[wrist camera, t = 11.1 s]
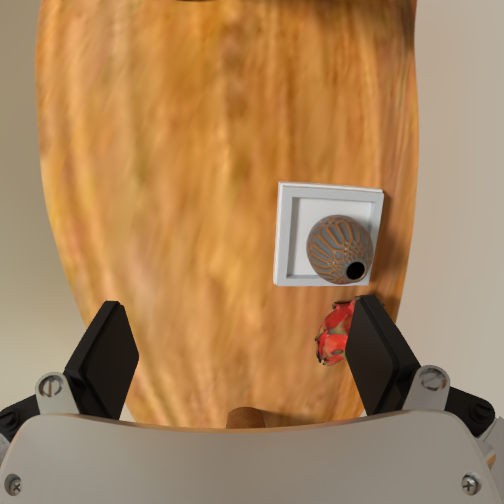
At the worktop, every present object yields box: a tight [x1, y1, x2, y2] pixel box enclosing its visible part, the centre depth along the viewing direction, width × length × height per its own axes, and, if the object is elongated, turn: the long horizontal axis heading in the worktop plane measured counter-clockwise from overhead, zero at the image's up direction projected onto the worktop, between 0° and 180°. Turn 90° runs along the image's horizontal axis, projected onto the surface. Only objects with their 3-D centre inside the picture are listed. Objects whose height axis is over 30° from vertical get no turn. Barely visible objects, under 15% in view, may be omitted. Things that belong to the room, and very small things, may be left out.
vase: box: [306, 215, 374, 285], centre depth 29 cm, size 7×7×9 cm
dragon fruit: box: [315, 295, 385, 366], centre depth 36 cm, size 8×8×12 cm
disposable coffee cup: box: [226, 407, 265, 429], centre depth 42 cm, size 10×10×12 cm
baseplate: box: [273, 181, 384, 286], centre depth 33 cm, size 12×12×2 cm
